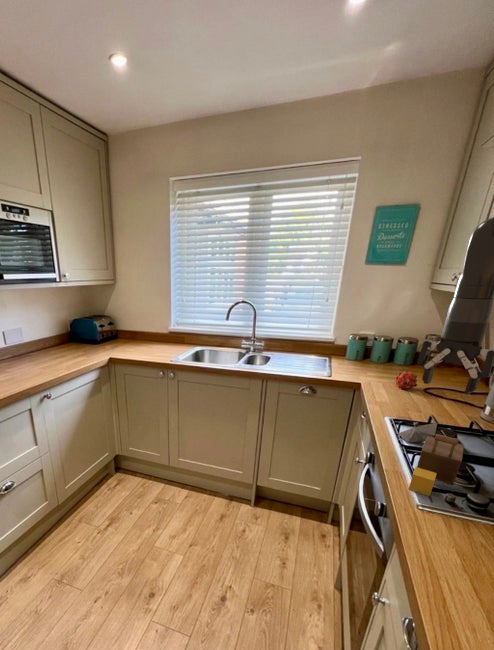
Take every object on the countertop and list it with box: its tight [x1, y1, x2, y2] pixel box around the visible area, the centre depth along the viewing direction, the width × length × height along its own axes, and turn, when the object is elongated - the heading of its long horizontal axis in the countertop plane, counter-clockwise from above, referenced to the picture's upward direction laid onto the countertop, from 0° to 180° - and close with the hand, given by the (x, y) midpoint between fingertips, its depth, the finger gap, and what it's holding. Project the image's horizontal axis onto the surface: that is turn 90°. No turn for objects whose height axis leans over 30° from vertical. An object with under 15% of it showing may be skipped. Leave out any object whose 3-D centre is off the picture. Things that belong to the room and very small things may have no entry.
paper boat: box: [397, 421, 438, 444], centre depth 106 cm, size 12×6×9 cm
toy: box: [408, 466, 437, 497], centre depth 82 cm, size 4×4×4 cm
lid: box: [420, 433, 465, 465], centre depth 87 cm, size 11×8×5 cm
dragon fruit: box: [394, 370, 418, 390], centre depth 155 cm, size 8×8×12 cm
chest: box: [416, 452, 461, 486], centre depth 89 cm, size 10×8×7 cm
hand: (446, 387), depth 79 cm, fingers open, 8 cm apart
